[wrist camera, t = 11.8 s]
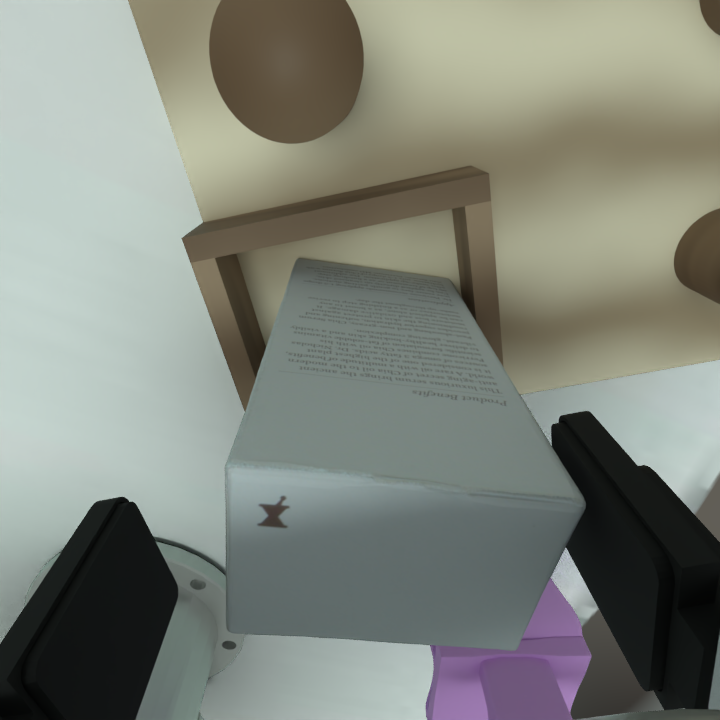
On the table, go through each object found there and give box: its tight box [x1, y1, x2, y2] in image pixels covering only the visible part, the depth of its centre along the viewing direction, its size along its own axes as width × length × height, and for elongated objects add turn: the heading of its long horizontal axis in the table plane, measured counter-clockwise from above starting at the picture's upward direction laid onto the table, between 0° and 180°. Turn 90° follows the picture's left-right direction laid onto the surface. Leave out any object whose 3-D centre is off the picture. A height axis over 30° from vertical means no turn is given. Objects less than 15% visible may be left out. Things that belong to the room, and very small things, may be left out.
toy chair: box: [426, 578, 591, 720], centre depth 22 cm, size 8×9×15 cm
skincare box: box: [225, 258, 586, 651], centre depth 14 cm, size 6×4×12 cm
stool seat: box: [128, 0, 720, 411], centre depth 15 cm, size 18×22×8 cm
